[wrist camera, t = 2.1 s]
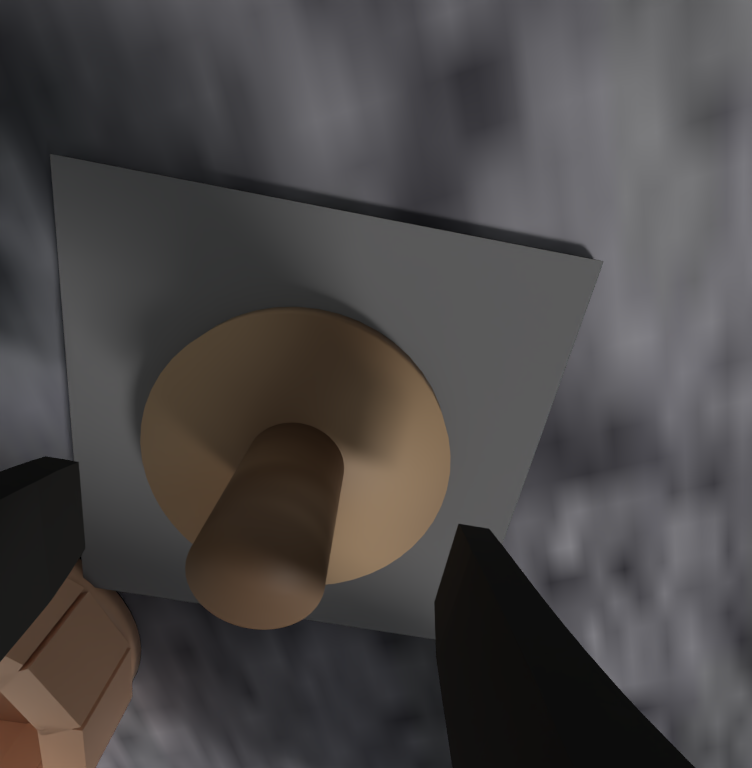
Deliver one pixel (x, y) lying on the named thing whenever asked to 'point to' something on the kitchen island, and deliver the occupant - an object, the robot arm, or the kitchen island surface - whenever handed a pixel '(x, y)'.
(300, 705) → the kitchen island surface
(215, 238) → the mat
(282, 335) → the lid
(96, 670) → the tan round bowl
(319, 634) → the kitchen island surface
